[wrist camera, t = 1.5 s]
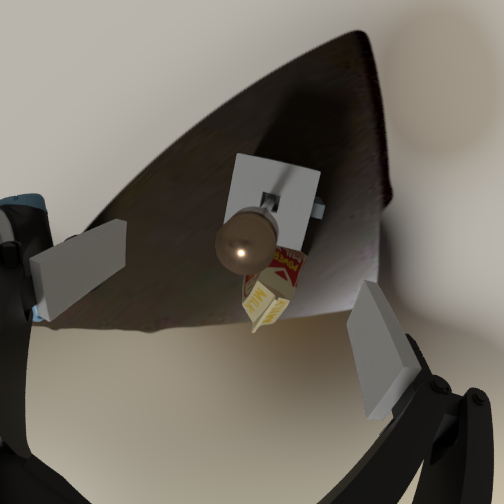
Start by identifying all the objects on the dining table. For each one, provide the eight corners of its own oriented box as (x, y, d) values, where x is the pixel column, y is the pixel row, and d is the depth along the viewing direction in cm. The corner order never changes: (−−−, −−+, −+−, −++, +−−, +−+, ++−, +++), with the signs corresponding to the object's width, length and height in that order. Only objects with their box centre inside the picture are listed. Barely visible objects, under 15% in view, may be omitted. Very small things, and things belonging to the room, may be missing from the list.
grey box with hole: (241, 212, 52) (222, 232, 38) (253, 154, 48) (237, 153, 34) (309, 228, 51) (314, 254, 37) (323, 171, 47) (335, 175, 33)
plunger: (241, 217, 43) (180, 285, 20) (251, 164, 40) (195, 172, 17) (293, 229, 42) (289, 314, 19) (306, 177, 39) (322, 201, 16)
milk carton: (268, 228, 52) (253, 268, 33) (309, 254, 53) (315, 307, 34) (244, 265, 55) (218, 319, 37) (282, 289, 56) (275, 352, 37)
